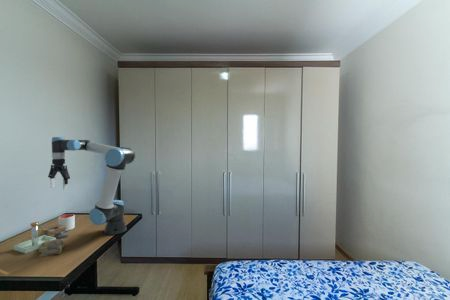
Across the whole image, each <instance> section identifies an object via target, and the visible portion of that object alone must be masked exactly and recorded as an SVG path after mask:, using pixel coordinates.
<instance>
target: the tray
mask: <svg viewBox="0 0 450 300" xmlns="http://www.w3.org/2000/svg"><path fill="white" fill-rule="evenodd" d="M46 240H50V241H51V240H57V239H56V238H54V237H50V236H46V235H43V236H42V235H41V236H38V244H37V245H34V246H32V238H31V239H28V240H25V241H23V242H20V243H16V244H14V245H13V251H14V252H19V253H21V254H25V255H27V254H29V253H33V252H35V251H37V250H39V248H40V247H42V246H43V244H44V242H45V241H46Z"/></svg>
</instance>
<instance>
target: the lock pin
mask: <svg viewBox="0 0 450 300" xmlns="http://www.w3.org/2000/svg"><path fill="white" fill-rule="evenodd" d="M39 223H40V222H38V221H36V222H35V221H34V222H31V223H30V225H29V226H30V227H31V228H30V229H31V230H30V232H31V239H32V246H34V245H37V244H38V237H39Z"/></svg>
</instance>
